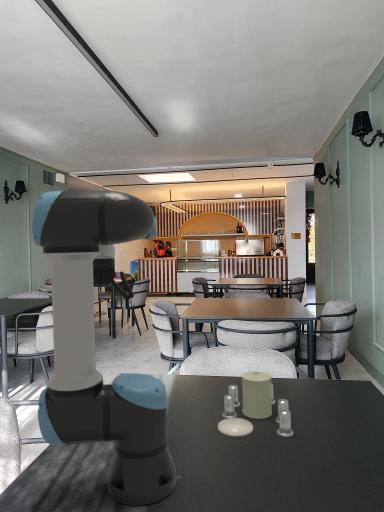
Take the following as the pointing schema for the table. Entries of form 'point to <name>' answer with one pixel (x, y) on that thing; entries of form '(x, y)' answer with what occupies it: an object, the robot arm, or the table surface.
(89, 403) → the robot arm
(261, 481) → the table surface
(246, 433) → the beige flat disc
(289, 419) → the posts
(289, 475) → the table surface
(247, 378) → the can
